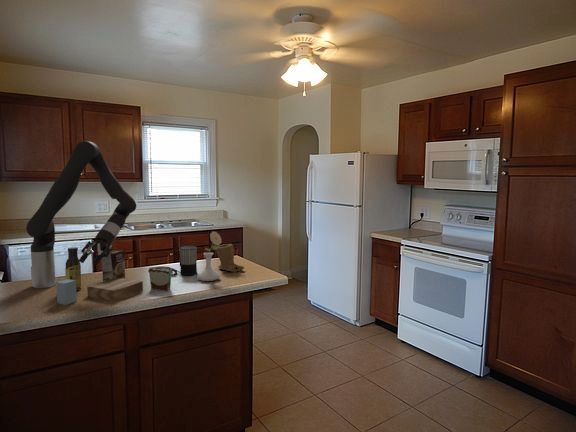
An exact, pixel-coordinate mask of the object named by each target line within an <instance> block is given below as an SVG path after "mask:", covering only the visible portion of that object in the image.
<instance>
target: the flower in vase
mask: <svg viewBox="0 0 576 432" xmlns="http://www.w3.org/2000/svg"><path fill="white" fill-rule="evenodd" d="M209 238H210V241H211V247H210V248H207V247H206V246H205V247H204V250H205V251H208V252H204V253H203V256H204V257H205V262H206V265H205V268H204V269H203V270H202V271H201V272H199V274H198V275H197V277H196V278H197V280H198V281H202V282H212V281H217V280H219V279H220V277H221V275H220V274H219V272H217V271H216V270H215V269H214V268H213V267H212V264H211V263H212V256H213V255H214V252H211V250H213V251H216V250H217V249H218V247H217V246H220V245H222V240H223V239H222V237H221V235H220V234H219V233H218V232H217V231H211V233H210V234H209Z"/></svg>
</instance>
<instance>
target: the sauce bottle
mask: <svg viewBox="0 0 576 432" xmlns="http://www.w3.org/2000/svg"><path fill="white" fill-rule="evenodd" d="M78 251H79V248H78V246H77V247H76V246H72V247H68V248H67V253H68V254H67V259H66V260H65V268H64V269H65V274H64V275H65V280H66V279H70V280H76V292H77V291H80V290H81V287H82V272H81V271H82V270H81V269H82V267H81V265H82V264H81V262H80V261H79V259H80V258H79V256H78Z"/></svg>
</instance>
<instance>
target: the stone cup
mask: <svg viewBox="0 0 576 432" xmlns="http://www.w3.org/2000/svg"><path fill="white" fill-rule="evenodd" d="M216 246H217V247H218V249H217V250H215V251H216V255H217V256H218V260H219V262H220V265H218V266H217V267H218V269H220V270H223V271H228V272H232V273H237V271H238V272H240V271H243V270H244V269H245V267H244V266H243V265H239V264H236V263H235V262H234V259H235V248H234V245H233V244H232V243H224V244H220V245H216Z"/></svg>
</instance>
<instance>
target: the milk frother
mask: <svg viewBox="0 0 576 432" xmlns="http://www.w3.org/2000/svg"><path fill="white" fill-rule="evenodd" d="M197 249H198V247H197V246H193V245H184V246H180V247H179V252H178V255H179V256H178V258H179V267H180V268H179V269H180V271H179V270H177V269H175V268H172V267H170V268H171V269H172V271H173V272H174V273H172V274H171V277H175V276H177V275H178V273H179V275H180V276H182V277H191V276H195V275H197V274H198V269H197V264H198V263H197V262H198V261H197V260H198V259H197V256H198V255H197V253H198V252H197Z"/></svg>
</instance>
